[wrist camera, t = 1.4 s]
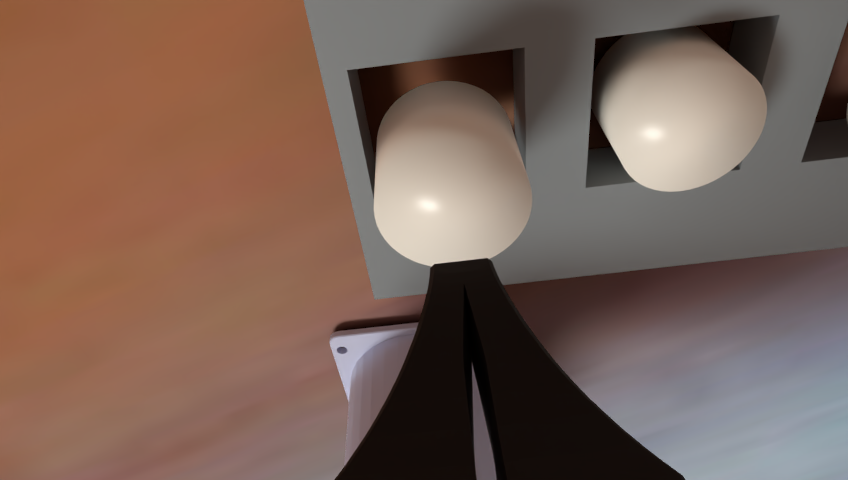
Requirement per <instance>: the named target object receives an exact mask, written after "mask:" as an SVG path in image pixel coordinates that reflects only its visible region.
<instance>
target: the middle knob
mask: <svg viewBox="0 0 848 480" xmlns="http://www.w3.org/2000/svg"><path fill="white" fill-rule="evenodd" d="M591 107H592V111H593V113H594V115H595V117H596V119H597V121H598V122H599V124H600V126H601V128H602V130H603V131H604V133H605V135H606V137H607V138H608V140H609V142H610V144H611V146H612V147H613V149H614V151H615V153H616V154H617V156H618V158H619V160H620V162H621V163H622V165H623V167H624V169H625V170H626V172H627V173H628V174H629V176H630V177H632V178H633V179H634V180H635V181H636V182H638V183H639V184H641V185H643V186H645V187H647V188H650V189H654V190H658V191H666V192H675V191H684V190H690V189H694V188H697V187H700V186H703V185H706V184H708V183H710V182H712V181H714V180H716V179H718V178H720V177H722V176H723V175H725V174H726V173H728V172H729V171H730V170H732V169H733V168H734V167H735V166H737V165H738V164H739V163H740V162H741V161H742V160H743V159H744V158H745V157H746V156H747V155H748V153H749V152H750V151H751V150H752V148H753V147H754V145H755V144H756V142H757V141H758V139H759V137H760V135H761V133H762V130H763V127H764V124H765V120H766V115H767V102H766V96H765V93H764V90H763V88H762V86H761V84H760V83H759V81H758V80H757V79H756V78H755V77H754V76H753V75H752V74H751V73H750V72H749V71H747V70H746V69H745V68H744V67H743V66H742V65H741V64H740V63H738V62H737V61H736V60H735V59H734V58H733V57H732V56H730V55H729V54H728V53H727V52H726V51H725V50H724V49H722V48H721V47H720V46H719V45H718V44H717V43H716V42H714V41H713V40H712V39H711V38H710V37H709V36H708V35H707V34H705V33H704V32H703V31H702V30H701V29H699V28H698V27H696V26H688V27H680V28H672V29H664V30H657V31H649V32H641V33H633V34H625V35H624V36H623V37H621V38H620V39H619V40H618V41H617V42H615V43H614V44H613V45H612V46H611V47H610V48H609V50H608V51H607V52H606V53H605V54H604V56H603V57H602V59H601V60H600V62H599V64H598V65H597V67H596V69H595V72H594V74H593V81H592V97H591Z"/></svg>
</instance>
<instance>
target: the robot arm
mask: <svg viewBox="0 0 848 480" xmlns="http://www.w3.org/2000/svg"><path fill="white" fill-rule="evenodd" d="M330 346H331V349H332V352H333V355H334V358H335V361H336V364H337V367H338V371H339V374H340V377H341V380H342V383H343V386H344V389H345V392H346V395H347V398H348V401H349V409H348V423H347V437H346V451H345V465H344V468H343V469H342V471H341V472H340V473H339V475H338V476H337V477H336V478H335V480H685V478H684V477H683V476H682V475H681V474H680V473H678V472H677V471H676V470H674V469H673V468H671V467H670V466H669V465H667V464H666V463H665V462H663V461H662V460H661V459H659V458H658V457H657V456H655V455H654V454H653V453H651V452H650V451H649V450H648V449H646V448H645V447H644V446H642V445H641V444H640V443H639V442H638V441H636V440H635V439H634V438H633V437H632V436H630V435H629V434H628V433H627V432H626V431H624V430H623V429H622V428H621V427H620V426H619V425H618V424H616V423H615V422H614V421H613V420H612V419H611V418H610V417H609V416H608V415H607V414H606V413H604V412H603V411H602V410H601V409H600V408H599V407H598V406H597V405H596V404H595V403H594V402H593V401H591V400H590V399H589V398H588V397H587V396H586V395H585V393H584V392H583V391H582V390H581V389H580V388H579V387H578V386H577V385H576V384H575V383H574V382H573V381H572V380H571V379H570V378H569V377H568V375H567V374H566V373H565V372H564V371H563V370H562V369H561V368H560V366H559V365H558V364H557V363H556V362H555V361H554V359H553V358H552V357H551V356H550V354H549V353H548V352H547V351H546V349H545V348H544V347H543V346H542V344H541V343H540V342H539V340H538V339H537V338H536V336H535V335H534V334H533V332H532V331H531V329H530V328H529V327H528V325H527V324H526V322H525V321H524V319H523V318H522V316H521V315H520V313H519V312H518V310H517V309H516V307H515V306H514V304H513V302H512V301H511V299H510V297H509V296H508V294H507V292H506V290H505V288H504V287H503V285H502V283H501V281H500V279H499V277H498V275H497V272H496V270H495V268H494V265H493V262H492V261H491V260H489V259H488V258H483V259H474V260H465V261H456V262H447V263H438V264H434V265H433V266H432V267H431V268H430V277H429V284H428V290H427V294H426V298H425V302H424V306H423V310H422V313H421V316H420V320H419V322H417V323H408V324H398V325H389V326H380V327H371V328H362V329H353V330H343V331H337V332H334V333H332V334H331V336H330ZM341 347H344V348H341Z"/></svg>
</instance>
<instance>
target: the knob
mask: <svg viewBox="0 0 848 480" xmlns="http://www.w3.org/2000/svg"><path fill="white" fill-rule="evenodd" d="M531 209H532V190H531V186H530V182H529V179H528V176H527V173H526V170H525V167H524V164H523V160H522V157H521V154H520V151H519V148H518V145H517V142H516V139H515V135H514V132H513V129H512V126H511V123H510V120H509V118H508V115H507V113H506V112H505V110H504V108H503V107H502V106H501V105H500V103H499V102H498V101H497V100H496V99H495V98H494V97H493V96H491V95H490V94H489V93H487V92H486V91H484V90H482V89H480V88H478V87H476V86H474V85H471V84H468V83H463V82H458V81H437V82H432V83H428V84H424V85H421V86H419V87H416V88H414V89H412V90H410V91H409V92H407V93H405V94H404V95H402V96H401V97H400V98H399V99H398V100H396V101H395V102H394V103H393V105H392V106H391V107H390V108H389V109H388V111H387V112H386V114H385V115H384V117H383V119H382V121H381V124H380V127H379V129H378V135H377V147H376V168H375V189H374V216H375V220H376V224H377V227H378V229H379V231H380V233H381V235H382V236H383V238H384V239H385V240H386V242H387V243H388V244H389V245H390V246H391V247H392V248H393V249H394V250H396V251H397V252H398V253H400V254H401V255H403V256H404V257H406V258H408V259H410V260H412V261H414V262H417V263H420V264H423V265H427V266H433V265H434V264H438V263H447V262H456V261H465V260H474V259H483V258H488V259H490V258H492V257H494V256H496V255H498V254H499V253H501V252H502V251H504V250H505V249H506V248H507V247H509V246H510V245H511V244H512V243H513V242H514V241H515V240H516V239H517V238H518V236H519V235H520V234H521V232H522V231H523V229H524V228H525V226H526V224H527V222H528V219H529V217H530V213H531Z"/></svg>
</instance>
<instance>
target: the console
mask: <svg viewBox="0 0 848 480" xmlns="http://www.w3.org/2000/svg"><path fill="white" fill-rule="evenodd" d="M304 4H305V8H306V13H307V17H308V21H309V25H310V29H311V34H312V38H313V42H314V46H315V50H316V55H317V59H318V63H319V67H320V71H321V76H322V80H323V84H324V88H325V93H326V97H327V101H328V105H329V109H330V114H331V118H332V122H333V126H334V130H335V135H336V139H337V143H338V147H339V151H340V156H341V160H342V164H343V168H344V173H345V177H346V181H347V185H348V189H349V194H350V198H351V202H352V206H353V210H354V215H355V219H356V223H357V227H358V231H359V236H360V240H361V244H362V248H363V252H364V257H365V261H366V265H367V269H368V274H369V278H370V282H371V286H372V290H373V295H374V299H383V298H392V297H401V296H410V295H419V294H427V290H428V284H429V277H430V268H431V267H432V266H427V265H423V264H420V263H417V262H414V261H412V260H410V259H408V258H406V257H404V256H403V255H401V254H400V253H398V252H397V251H396V250H394V249H393V248H392V247H391V246H390V245H389V244H388V243H387V242H386V240H385V239H384V238H383V236H382V235H381V233H380V231H379V229H378V227H377V224H376V220H375V216H374V189H375V168H376V162H375V157H374V152H373V147H372V141H371V136H370V131H369V126H368V121H367V116H366V111H365V106H364V101H363V96H362V90H361V85H360V80H359V75H358V70H357V69H360V68H368V67H376V66H384V65H392V64H399V63H407V62H415V61H423V60H431V59H438V58H446V57H454V56H462V55H470V54H477V53H485V52H493V51H501V50H508V49H513V81H514V123H515V139H516V142H517V145H518V148H519V151H520V154H521V157H522V160H523V164H524V167H525V170H526V173H527V176H528V179H529V182H530V186H531V190H532V209H531V213H530V217H529V219H528V222H527V224H526V226H525V228H524V229H523V231H522V232H521V234H520V235H519V236H518V238H517V239H516V240H515V241H514V242H513V243H512V244H511V245H510V246H509V247H507V248H506V249H505V250H504V251H502V252H501V253H499V254H498V255H496V256H494V257H492V258H490V259H489V260H491V261H492V262H493V265H494V268H495V270H496V272H497V275H498V277H499V279H500V281H501V283H502V285H509V284H518V283H527V282H536V281H545V280H554V279H563V278H572V277H581V276H590V275H599V274H608V273H617V272H626V271H635V270H644V269H653V268H662V267H671V266H680V265H689V264H698V263H707V262H716V261H725V260H734V259H743V258H752V257H761V256H770V255H779V254H788V253H797V252H806V251H815V250H824V249H833V248H842V247H848V123H847V119H838V120H830V121H822V122H815V119H816V116H817V113H818V110H819V107H820V104H821V101H822V98H823V95H824V92H825V89H826V86H827V83H828V80H829V77H830V73H831V70H832V67H833V64H834V61H835V58H836V55H837V52H838V49H839V46H840V43H841V40H842V37H843V34H844V31H845V28H846V25H847V22H848V0H304ZM734 20H735V22H734V26H733V31H732V36H731V41H730V45H729V50H728V54H729V55H730V56H732V57H733V58H734V59H735V60H736V61H737V62H738V63H740V64H741V65H742V66H743V67H744V68H745V69H746V70H747V71H749V72H750V73H751V74H752V75H753V76H754V77H755V78H756V79H757V80H758V81H759V83H760V84H761V86H762V88H763V90H764V93H765V96H766V102H767V115H766V120H765V124H764V127H763V130H762V133H761V135H760V137H759V139H758V141H757V142H756V144H755V145H754V147H753V148H752V150H751V151H750V152H749V153H748V155H747V156H746V157H745V158H744V159H743V160H742V161H741V162H740V163H739V164H738V165H737V166H735V167H734V168H733V169H732V170H730V171H729V172H728V173H726V174H725V175H723V176H722V177H720V178H718V179H716V180H714V181H712V182H710V183H708V184H706V185H703V186H700V187H697V188H694V189H690V190H684V191H675V192H666V191H658V190H654V189H650V188H647V187H645V186H643V185H641V184H639V183H638V182H636V181H635V180H634V179H633V178H632V177H630V176H629V174H628V173H627V172H626V170H625V169H624V167H623V165H622V163H621V162H620V160H619V158H618V156H617V154H616V153H615V151H614V149H613V147H606V148H597V149H589V150H588V143H589V127H590V112H591V97H592V81H593V66H594V51H595V38H602V37H610V36H618V35H625V34H633V33H641V32H649V31H657V30H664V29H672V28H680V27H688V26H695V25H703V24H711V23H719V22H727V21H734Z"/></svg>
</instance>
